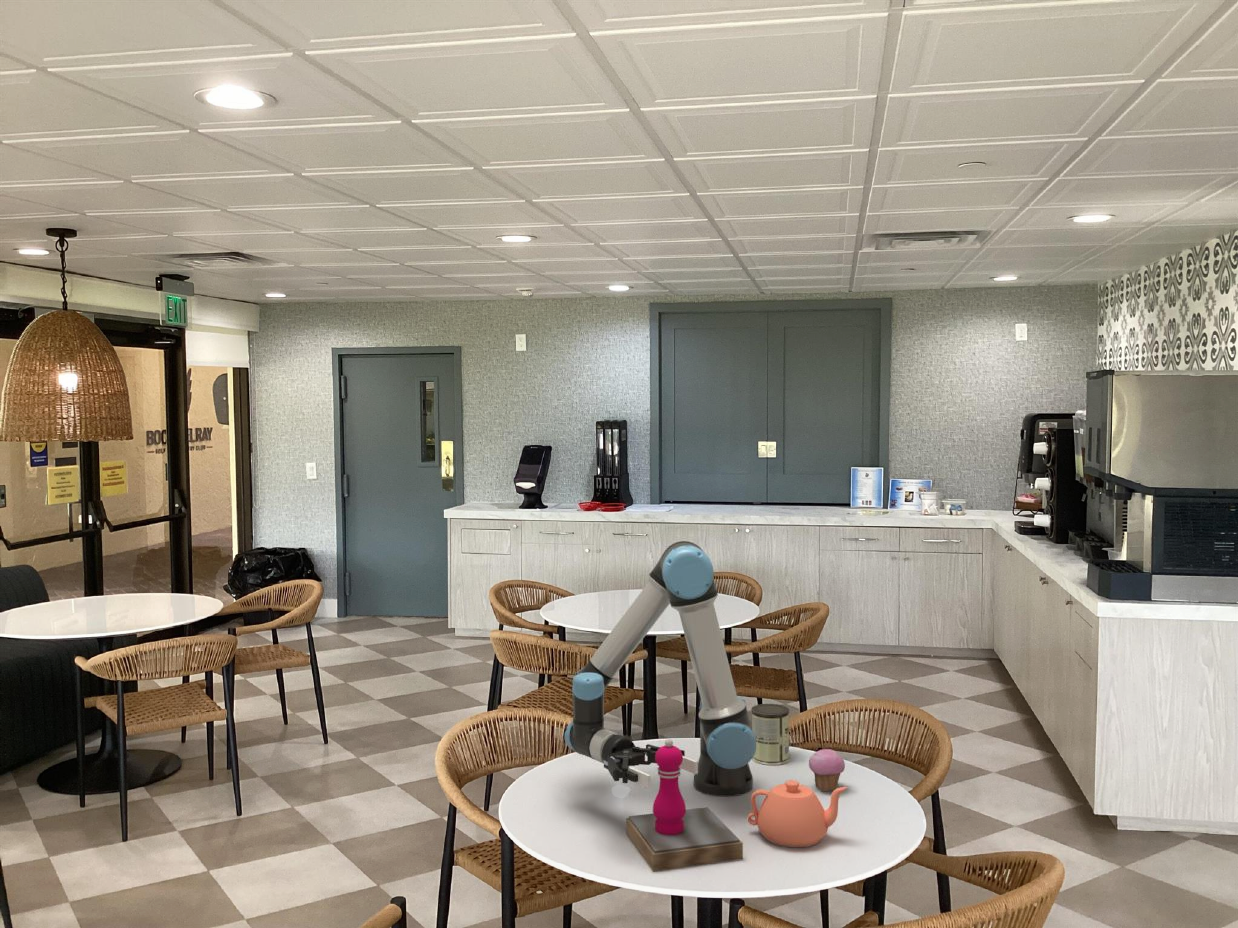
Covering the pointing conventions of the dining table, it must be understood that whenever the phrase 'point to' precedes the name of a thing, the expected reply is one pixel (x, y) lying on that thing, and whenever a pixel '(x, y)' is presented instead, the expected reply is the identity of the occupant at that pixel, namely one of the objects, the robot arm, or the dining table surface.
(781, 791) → the teapot
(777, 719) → the coffee can
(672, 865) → the walnut stand
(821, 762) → the cupcake
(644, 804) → the dining table surface
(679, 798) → the pepper mill
